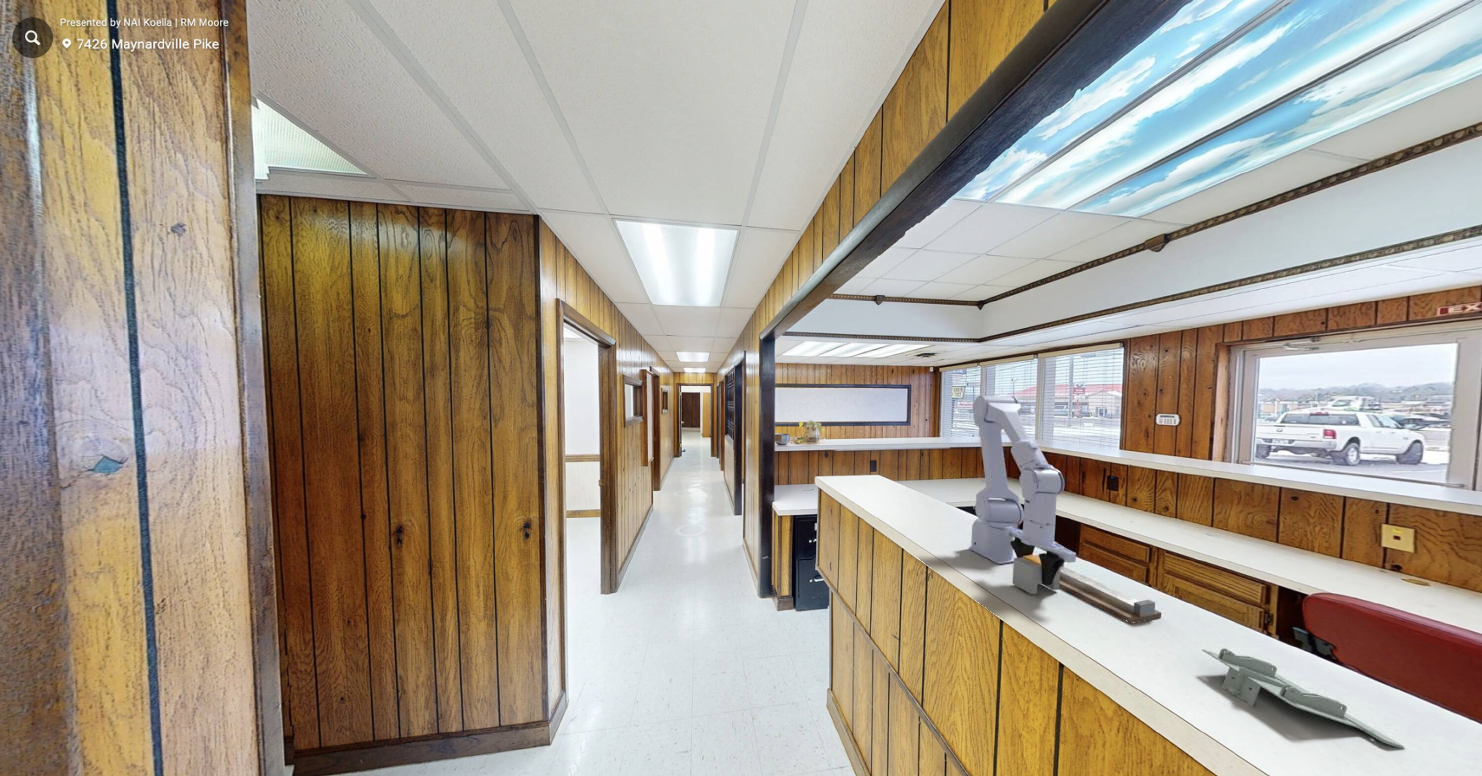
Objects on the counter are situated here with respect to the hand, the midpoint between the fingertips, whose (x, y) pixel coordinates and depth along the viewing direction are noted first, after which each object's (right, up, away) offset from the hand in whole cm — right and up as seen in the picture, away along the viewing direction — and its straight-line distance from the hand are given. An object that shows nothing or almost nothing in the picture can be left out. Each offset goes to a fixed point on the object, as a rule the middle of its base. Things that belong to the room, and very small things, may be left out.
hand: (1035, 578), depth 87 cm
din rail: (+12, -3, -2) cm, 12 cm away
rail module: (0, -2, 0) cm, 2 cm away
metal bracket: (+15, -5, -29) cm, 33 cm away
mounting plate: (+12, -3, -2) cm, 12 cm away
